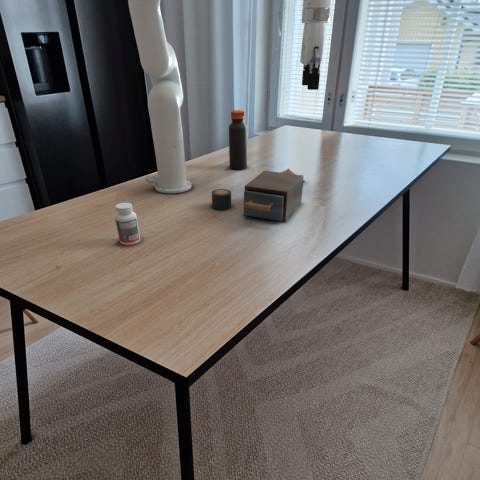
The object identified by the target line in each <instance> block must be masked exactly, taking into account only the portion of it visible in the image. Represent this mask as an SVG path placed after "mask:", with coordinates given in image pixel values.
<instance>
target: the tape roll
mask: <svg viewBox="0 0 480 480" xmlns="http://www.w3.org/2000/svg"><path fill="white" fill-rule="evenodd" d="M211 206H212V208H213V209H214V210H218V211H226V210H229V209H231V208H232V191H231V190H229V189H226V188H217V189H214V190H212V191H211Z"/></svg>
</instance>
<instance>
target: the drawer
mask: <svg viewBox="0 0 480 480" xmlns="http://www.w3.org/2000/svg"><path fill="white" fill-rule="evenodd" d="M283 205H284V194H277V193H270V192H263V191H256V190H250V191H245V190H244V191H243V216H246V215H248V217H252V216H254V217H253V218H258V217H260V218H259V219H264V218H266V220H270V219H272V220H271V221H276V220H278V221H277V222H283V221H282V220H283Z"/></svg>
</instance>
